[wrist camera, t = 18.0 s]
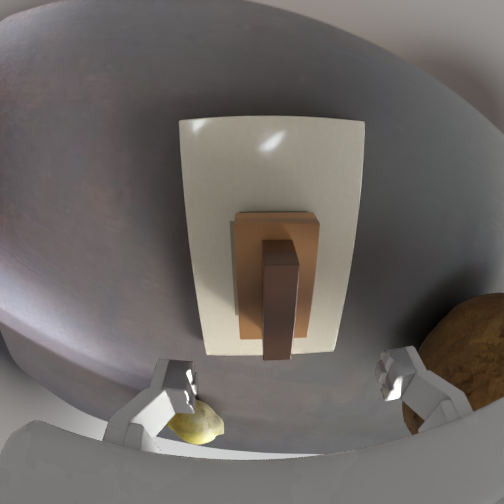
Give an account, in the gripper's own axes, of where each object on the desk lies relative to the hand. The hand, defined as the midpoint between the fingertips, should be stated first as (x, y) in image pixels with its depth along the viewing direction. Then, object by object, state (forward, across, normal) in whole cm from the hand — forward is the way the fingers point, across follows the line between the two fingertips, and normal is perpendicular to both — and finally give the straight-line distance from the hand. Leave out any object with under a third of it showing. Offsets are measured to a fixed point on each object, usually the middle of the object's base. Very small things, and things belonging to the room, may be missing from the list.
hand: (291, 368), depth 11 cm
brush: (+10, 0, +1) cm, 10 cm away
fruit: (+12, +10, +22) cm, 27 cm away
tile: (+12, 0, 0) cm, 12 cm away
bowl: (+12, -22, +12) cm, 27 cm away
